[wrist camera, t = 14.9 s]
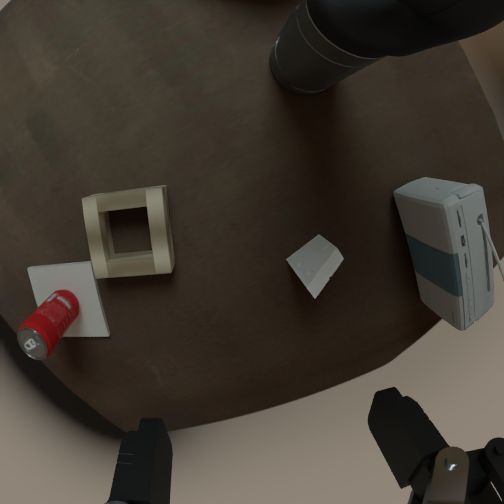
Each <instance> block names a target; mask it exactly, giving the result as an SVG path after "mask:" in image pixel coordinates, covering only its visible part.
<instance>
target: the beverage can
mask: <svg viewBox="0 0 504 504" xmlns="http://www.w3.org/2000/svg"><path fill="white" fill-rule="evenodd" d="M78 314H79V301H78V299H77V297H76V296H75V295H74V294H73V293H72V292H71V291H69V290H66V289H62V290H57V291H55V292H53V293H52V294H51V295H50V296H49V297H48V298H47V299H46V300H45V301H44V302H43V303H42V304H41V305H40V306H39V307H38V308H37V309H36V310H35V311H34V312H33V313H32V314H31V315H30V316H29V317H28V318H27V319H26V320H25V321H24V322H23V323H22V324H21V326H20V328H19V331H18V334H17V338H18V342H19V345H20V346H21V348H22V349H23V351H24V352H25V353H26V354H27V355H28V356H30V357H32V358H34V359H36V360H41V359H44V358H45V357H47V356H49V355H50V353H51V352H52V351H53V349H54V348H55V346H56V345H57V344H58V342H59V341H60V339H61V338H62V337H63V335H64V334H65V332H66V331H67V330H68V328H69V327H70V326H71V324H72V323H73V322H74V320H75V319H76V318H77V316H78Z"/></svg>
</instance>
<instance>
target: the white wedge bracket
mask: <svg viewBox="0 0 504 504" xmlns="http://www.w3.org/2000/svg"><path fill="white" fill-rule="evenodd" d="M343 259H344V258H343V256H342V255H341V253H340V252H339V250H338V249H337V247H335V246H334V245H333V244H331V243H330V242H329V241H327V240H326V239H325V238H323V237H322V236H320V235H319V234H318V235H317V236H316V237H314V238H313V239H312V240H311V241H309V242H308V243H307V244H305V245H304V246H303V247H301V248H300V249H299V250H298V251H296V252H295V253H294V254H292V255H291V256H290V257H288V258H287V259H286V260H287V261H288V263H289V264H290V266H291V267H292V268H293V270H294V271H295V273H296V274H297V275H298V277H299V278H300V279H301V281H302V282H303V284H304V285H305V286H306V288H307V289H308V291H309V292H310V293H311V295H312V296H313V297H314V299H315V298H316V297H317V296H318V294H319V293H320V292H321V290H322V289H323V287H324V286H325V285H326V283H327V282H328V281H329V277H331V276H332V275H333V274H334V272H335V271H336V269H337V268H338V267H339V265H340V264H341V262H342V261H343Z"/></svg>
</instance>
